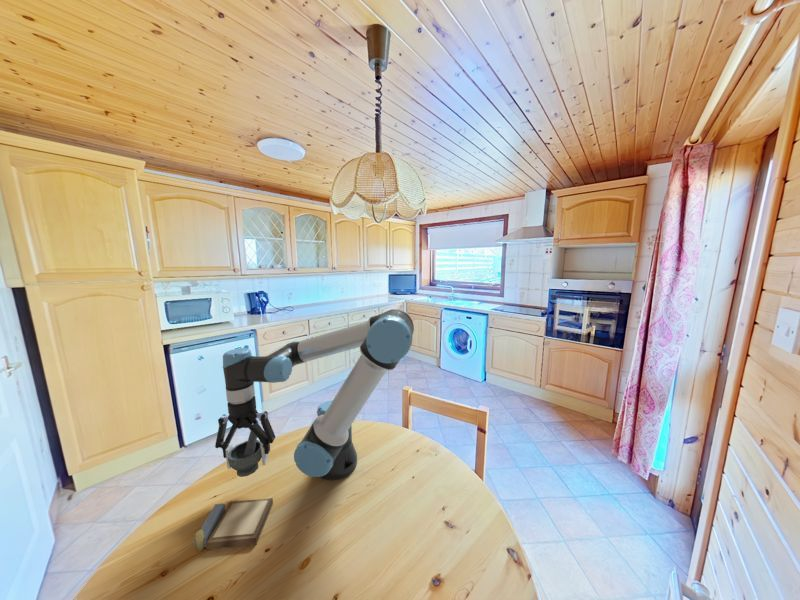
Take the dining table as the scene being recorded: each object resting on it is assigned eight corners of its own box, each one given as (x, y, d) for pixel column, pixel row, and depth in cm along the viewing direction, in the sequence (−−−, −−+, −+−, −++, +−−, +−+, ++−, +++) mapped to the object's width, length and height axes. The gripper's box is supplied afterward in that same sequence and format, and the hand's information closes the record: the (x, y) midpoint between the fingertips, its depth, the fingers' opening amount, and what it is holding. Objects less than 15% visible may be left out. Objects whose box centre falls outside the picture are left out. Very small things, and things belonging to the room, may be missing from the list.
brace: (204, 550, 68) (203, 534, 68) (193, 551, 68) (192, 536, 67) (225, 511, 79) (223, 498, 78) (215, 513, 79) (214, 499, 78)
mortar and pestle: (250, 483, 80) (246, 446, 79) (222, 480, 82) (218, 443, 80) (273, 456, 91) (270, 423, 90) (248, 454, 93) (244, 422, 91)
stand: (273, 504, 82) (272, 497, 81) (256, 544, 70) (255, 536, 70) (231, 507, 81) (230, 500, 80) (207, 549, 69) (206, 541, 68)
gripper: (282, 390, 88) (288, 452, 91) (210, 395, 86) (217, 459, 89) (274, 401, 81) (280, 469, 84) (195, 407, 79) (203, 476, 82)
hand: (248, 464), depth 86 cm, fingers closed on mortar and pestle, 10 cm apart
